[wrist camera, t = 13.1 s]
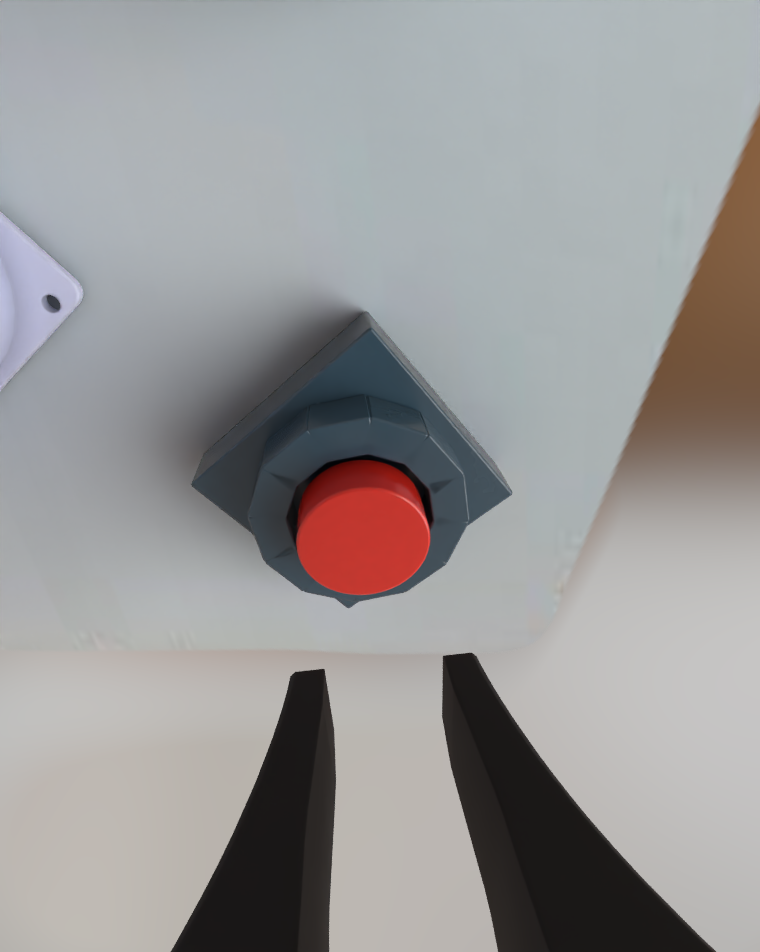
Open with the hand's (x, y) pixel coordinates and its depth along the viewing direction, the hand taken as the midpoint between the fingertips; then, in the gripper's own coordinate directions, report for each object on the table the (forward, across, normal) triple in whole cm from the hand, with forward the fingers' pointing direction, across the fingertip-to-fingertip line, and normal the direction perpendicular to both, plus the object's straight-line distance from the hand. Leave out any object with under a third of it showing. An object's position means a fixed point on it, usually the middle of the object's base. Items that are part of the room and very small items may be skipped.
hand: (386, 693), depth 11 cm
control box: (+10, 0, 0) cm, 10 cm away
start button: (+7, 0, 0) cm, 7 cm away
